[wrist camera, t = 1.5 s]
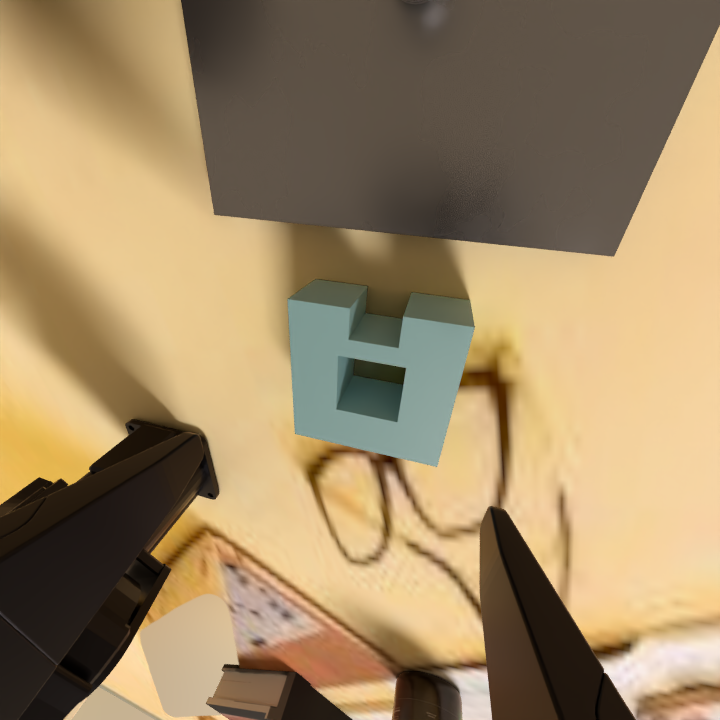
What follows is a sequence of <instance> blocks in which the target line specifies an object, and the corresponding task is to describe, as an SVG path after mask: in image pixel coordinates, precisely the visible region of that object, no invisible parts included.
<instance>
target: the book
mask: <svg viewBox="0 0 720 720" xmlns="http://www.w3.org/2000/svg"><path fill="white" fill-rule="evenodd" d="M222 671H223V672H224V674H223V677H222V679H221V681H220V683H219V685H218V687H217V689H216V691H215V694H214V696H213V698H211V697H209V698H208V700H207V702H206V704H207V705H209V706H210V707H212V708H213V709H215V710H216V711H218V712H219V713H221V714H222V715H223V716H225V717H226V718H228V719H229V720H352V719H351V718H350V717H348V716H347V715H346V714H345V713H343V712H342V711H341V710H340V709H338V708H337V707H336V706H335V705H333V704H332V703H331V702H330V701H329V700H327V699H326V698H325V697H324V696H322V695H321V694H320V693H319V692H317V691H316V690H315V689H314V688H313V687H311V686H310V685H311V684H310V683H309V682H308V681H307V680H305V679H304V678H303V677H302V676H300V675H299V674H298V673H297V672H286V671H270V670H254V669H240V667H239V665H234V664H224V666H223V668H222Z"/></svg>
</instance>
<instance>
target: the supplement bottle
mask: <svg viewBox="0 0 720 720" xmlns="http://www.w3.org/2000/svg"><path fill="white" fill-rule="evenodd" d="M392 720H462V701H461V697H460V694H459V692H458V691H457V689H456V688H455V687H454V686H453V685H451V684H450V683H449V682H447V681H445V680H443V679H441V678H439V677H437V676H434V675H431V674H428V673H423V672H417V671H407V672H403V673H401V674H400V675H399V676H398V678H397V681H396V688H395V696H394V706H393V715H392Z"/></svg>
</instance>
